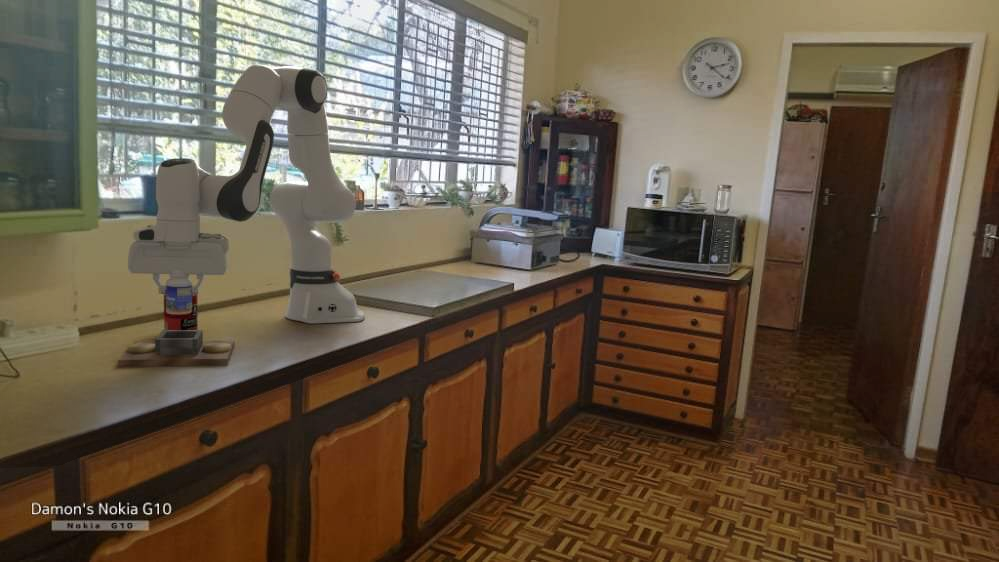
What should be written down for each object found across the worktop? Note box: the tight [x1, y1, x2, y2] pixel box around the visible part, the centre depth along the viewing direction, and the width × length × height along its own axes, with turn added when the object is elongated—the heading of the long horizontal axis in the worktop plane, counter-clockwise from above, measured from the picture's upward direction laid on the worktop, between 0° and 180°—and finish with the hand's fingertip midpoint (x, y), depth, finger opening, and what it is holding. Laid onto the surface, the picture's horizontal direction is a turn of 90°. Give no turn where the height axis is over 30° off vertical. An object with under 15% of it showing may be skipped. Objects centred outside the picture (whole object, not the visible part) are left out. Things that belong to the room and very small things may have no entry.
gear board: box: [117, 329, 236, 368], centre depth 164 cm, size 22×16×5 cm
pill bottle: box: [165, 271, 193, 315], centre depth 161 cm, size 5×5×10 cm
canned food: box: [163, 294, 199, 330], centre depth 182 cm, size 8×8×11 cm
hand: (179, 293), depth 162 cm, fingers closed on pill bottle, 5 cm apart
